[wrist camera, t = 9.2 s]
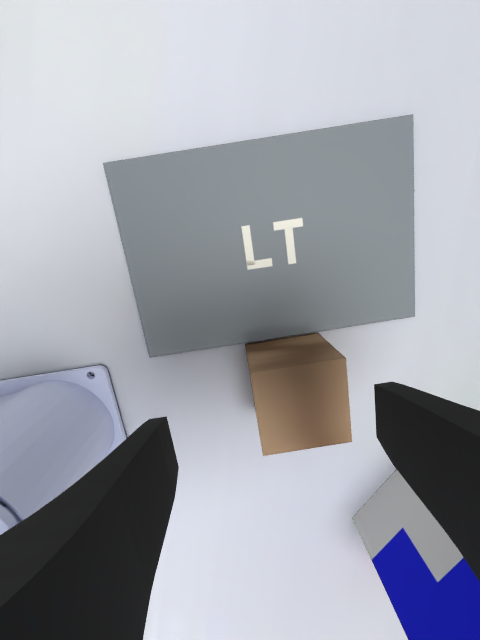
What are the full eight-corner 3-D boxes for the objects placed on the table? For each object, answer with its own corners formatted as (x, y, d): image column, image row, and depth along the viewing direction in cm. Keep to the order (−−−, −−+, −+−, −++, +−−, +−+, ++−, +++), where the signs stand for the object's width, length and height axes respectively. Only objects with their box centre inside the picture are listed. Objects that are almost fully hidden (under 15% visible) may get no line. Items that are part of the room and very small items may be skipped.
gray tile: (150, 356, 19) (149, 357, 19) (105, 164, 17) (102, 162, 16) (412, 315, 19) (415, 316, 19) (410, 116, 17) (413, 114, 16)
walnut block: (255, 408, 21) (263, 455, 16) (244, 343, 20) (249, 373, 15) (323, 397, 21) (352, 441, 16) (317, 332, 20) (345, 358, 15)
